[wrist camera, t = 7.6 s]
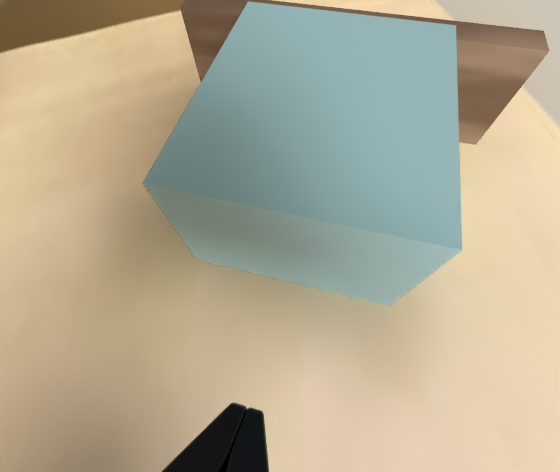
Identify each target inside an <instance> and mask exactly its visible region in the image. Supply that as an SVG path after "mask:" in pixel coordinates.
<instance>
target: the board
mask: <svg viewBox="0 0 560 472" xmlns="http://www.w3.org/2000/svg"><path fill="white" fill-rule="evenodd" d="M248 1H249V2H258V3H266V4H275V5H284V6H292V7H301V8H310V9H319V10H327V11H336V12H345V13H353V14H362V15H371V16H379V17H388V18H397V19H405V20H414V21H423V22H432V23H440V24H449V25H456V44H457V82H458V120H459V142H464V143H470V144H477V142H478V141H479V140H480V139H481V137H482V136H483V135H484V133H485V132H486V131H487V130H488V128H489V127H490V126H491V125H492V123H493V122H494V121H495V119H496V118H497V117H498V116H499V114H500V113H501V112H502V111H503V109H504V108H505V107H506V105H507V104H508V103H509V102H510V100H511V99H512V98H513V97H514V95H515V94H516V93H517V92H518V90H519V89H520V88H521V86H522V85H523V84H524V83H525V81H526V80H527V79H528V78H529V76H530V75H531V74H532V72H533V71H534V70H535V69H536V67H537V66H538V65H539V63H540V62H541V61H542V60H543V58H544V57H545V56H546V55H547V53H548V52H549V48H548V45H547V41H546V37H545V34H544V31H539V30H530V29H521V28H513V27H504V26H495V25H485V24H477V23H468V22H459V21H450V20H441V19H432V18H423V17H414V16H405V15H397V14H388V13H379V12H370V11H361V10H352V9H343V8H334V7H325V6H316V5H307V4H298V3H289V2H280V1H272V0H185V1H184V3H183V4H182V5H181V6H180V9H181V12H182V16H183V19H184V23H185V27H186V30H187V34H188V37H189V41H190V45H191V48H192V52H193V55H194V59H195V63H196V66H197V70H198V73H199V77H200V80H201V82H202V80H203V78H204V77H205V75H206V73H207V71H208V70H209V68H210V66H211V65H212V63H213V61H214V59H215V58H216V56H217V54H218V52H219V51H220V49H221V47H222V46H223V44H224V42H225V40H226V39H227V37H228V35H229V33H230V32H231V30H232V28H233V27H234V25H235V23H236V21H237V20H238V18H239V16H240V15H241V13H242V11H243V9H244V8H245V6H246V4H247V2H248Z"/></svg>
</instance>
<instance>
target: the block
mask: <svg viewBox="0 0 560 472" xmlns="http://www.w3.org/2000/svg"><path fill="white" fill-rule="evenodd" d="M143 185H144V186H145V187H146V189H147V190H148V192H149V193H150V194H151V196H152V197H153V199H154V200H155V202H156V203H157V204H158V206H159V207H160V209H161V210H162V211H163V213H164V214H165V216H166V217H167V218H168V220H169V221H170V223H171V224H172V226H173V227H174V228H175V230H176V231H177V233H178V234H179V235H180V237H181V238H182V240H183V241H184V243H185V244H186V245H187V247H188V248H189V250H190V251H191V252H192V254H193V255H194V257H195V258H196V259H197V260H201V261H205V262H209V263H213V264H218V265H222V266H226V267H230V268H234V269H238V270H243V271H247V272H251V273H255V274H259V275H263V276H267V277H272V278H276V279H280V280H284V281H288V282H292V283H297V284H301V285H305V286H309V287H313V288H317V289H321V290H326V291H330V292H334V293H338V294H342V295H346V296H351V297H355V298H359V299H363V300H367V301H371V302H375V303H380V304H384V305H388V306H390V305H392V304H393V303H394V302H396V301H397V300H398V299H399V298H401V297H402V296H403V295H405V294H406V293H407V292H409V291H410V290H411V289H412V288H414V287H415V286H416V285H418V284H419V283H420V282H421V281H423V280H424V279H425V278H427V277H428V276H429V275H431V274H432V273H433V272H434V271H436V270H437V269H438V268H440V267H441V266H442V265H444V264H445V263H446V262H447V261H449V260H450V259H451V258H453V257H454V256H455V255H456V254H458V253H459V252H460V251H462V233H461V195H460V158H459V120H458V82H457V44H456V25H449V24H440V23H432V22H423V21H414V20H405V19H397V18H388V17H379V16H371V15H362V14H353V13H345V12H336V11H327V10H319V9H310V8H301V7H292V6H284V5H275V4H266V3H258V2H249V1H248V2H247V4H246V6H245V8H244V9H243V11H242V13H241V15H240V16H239V18H238V20H237V21H236V23H235V25H234V27H233V28H232V30H231V32H230V33H229V35H228V37H227V39H226V40H225V42H224V44H223V46H222V47H221V49H220V51H219V52H218V54H217V56H216V58H215V59H214V61H213V63H212V65H211V66H210V68H209V70H208V71H207V73H206V75H205V77H204V78H203V80H202V82H201V83H200V85H199V87H198V89H197V90H196V92H195V94H194V96H193V97H192V99H191V101H190V102H189V104H188V106H187V108H186V109H185V111H184V113H183V115H182V116H181V118H180V120H179V121H178V123H177V125H176V127H175V128H174V130H173V132H172V133H171V135H170V137H169V139H168V140H167V142H166V144H165V146H164V147H163V149H162V151H161V152H160V154H159V156H158V158H157V159H156V161H155V163H154V164H153V166H152V168H151V170H150V171H149V173H148V175H147V177H146V178H145V180H144V182H143Z"/></svg>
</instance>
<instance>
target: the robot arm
mask: <svg viewBox="0 0 560 472" xmlns="http://www.w3.org/2000/svg"><path fill="white" fill-rule="evenodd" d="M162 472H269V466H268V455H267V445H266V434H265V424H264V414H263V412H262V411H261V410H257V409H254V408H248V409H247V407H246V406H244V405H241V404H237V403H231V404H230V405H229V406H228V407H227V408H226V409H225V410H224V411H223V412H222V413H220V414H219V415H218V416H217V417H216V418H215V419H214V420H213V421H212V422H211V423H210V424H209V425H208V426H207V427H206V428H205V429H204V430H203V431H202V432H201V433H200V434H199V435H198V436H197V437H196V438H195V439H194V440H193V441H192V442H191V443H190V444H189V445H188V446H187V447H186V448H185V449H184V450H183V451H182V452H181V453H180V454H179V455H178V456H177V457H176V458H175V459H174V460H173V461H172V462H171V463H170V464H169V465H168V466H167V467H166V468H165V469H164V470H163V471H162Z"/></svg>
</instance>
